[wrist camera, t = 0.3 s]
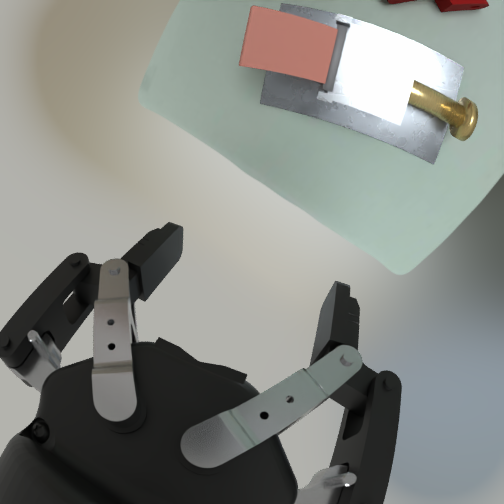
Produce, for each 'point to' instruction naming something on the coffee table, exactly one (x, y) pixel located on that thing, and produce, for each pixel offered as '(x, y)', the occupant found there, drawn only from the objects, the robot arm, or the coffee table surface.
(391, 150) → the coffee table surface
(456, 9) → the mechanical linkage
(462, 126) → the brass pin
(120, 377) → the robot arm
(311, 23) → the latch flap
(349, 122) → the latch base plate
